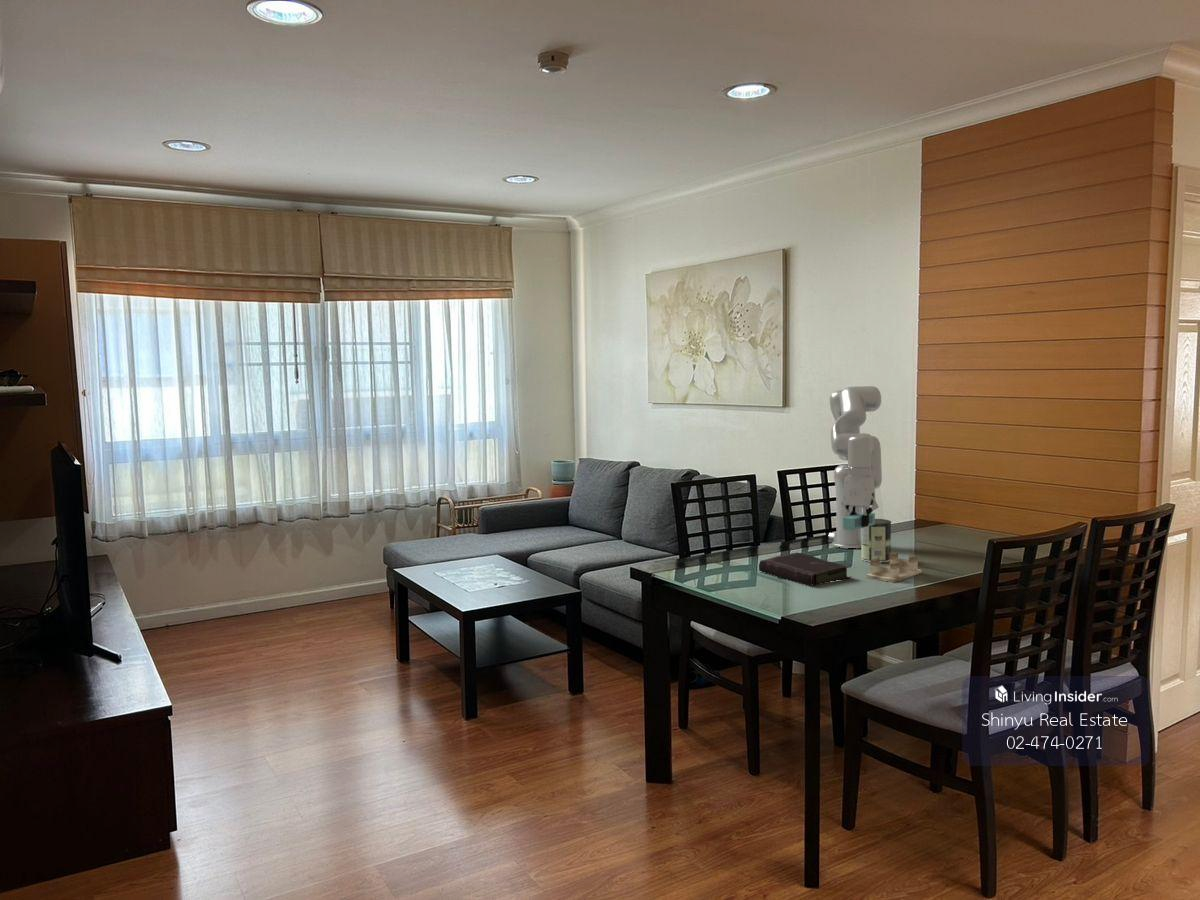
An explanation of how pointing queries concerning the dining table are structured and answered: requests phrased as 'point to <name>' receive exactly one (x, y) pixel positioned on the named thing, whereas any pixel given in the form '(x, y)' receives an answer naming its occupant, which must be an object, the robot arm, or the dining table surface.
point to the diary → (804, 569)
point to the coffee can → (876, 541)
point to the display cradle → (894, 568)
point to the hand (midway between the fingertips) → (859, 525)
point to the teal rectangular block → (857, 521)
